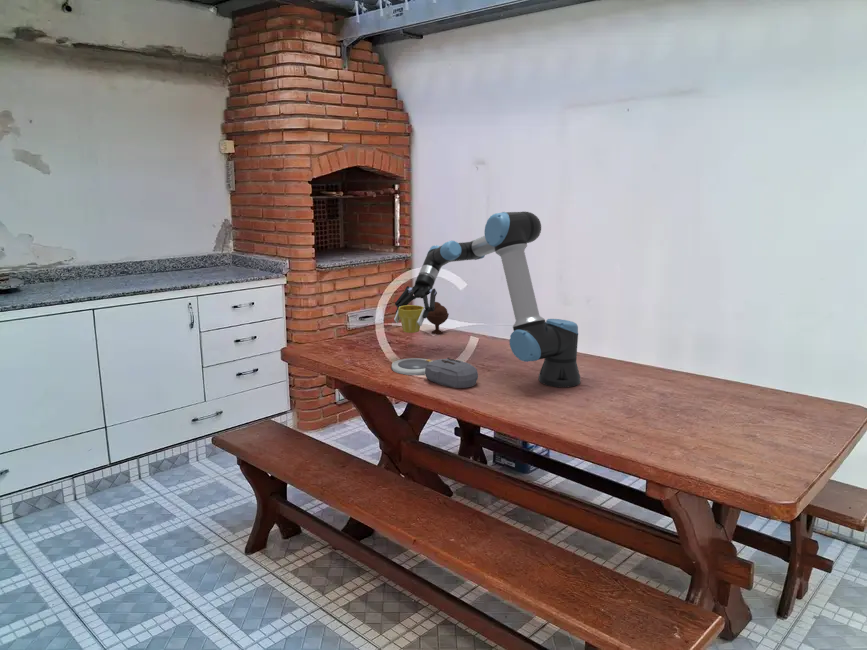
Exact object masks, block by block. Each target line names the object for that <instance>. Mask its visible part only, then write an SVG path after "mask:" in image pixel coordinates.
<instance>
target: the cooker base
mask: <svg viewBox="0 0 867 650" xmlns="http://www.w3.org/2000/svg"><path fill="white" fill-rule="evenodd" d="M432 361H433V360H432V359H428V358H423V357H421V358H419V357H412V358H411V357H409V358H402V359H398V360H394V361H393V362H392V363H391V370H392V371H393V372H394V373H397V374H400V375H406V376H421V375H425V368H426V366H427V364H428V363H430V362H432Z"/></svg>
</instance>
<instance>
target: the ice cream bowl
mask: <svg viewBox="0 0 867 650" xmlns="http://www.w3.org/2000/svg"><path fill="white" fill-rule="evenodd" d="M449 314H450V313H449V312H448V308H447V307H446V306H444V305H442V304H441V303H440V302H438V301H435V308H434V311H433V312H432V311H430V312H429V313H428V315H427V318H426V319H427V321H428V322H429V323H431V324H432V325H433V326H435V327H434V328H435V329H433V330H432V331H431V334H432V335H442V334H443V333H444V332H443V331H442V330H440V325H442V324H444V323H445V322H446V321H447V320H448V318H449Z"/></svg>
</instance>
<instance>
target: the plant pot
mask: <svg viewBox="0 0 867 650" xmlns="http://www.w3.org/2000/svg"><path fill="white" fill-rule="evenodd" d="M424 307H425V306H421V305H417V304H415V305H414V304H408V305H405V306H402V305H401V306H400V307H399V308H398V315H399V317H400V323H401V327H402V332H404V333H407V334H410V333H411V334H414V333H418V332H420V329H421V326H419V324H418V323H417V321H418V319H419V317H420V314H421V312H422V310H423V309H425V308H424Z"/></svg>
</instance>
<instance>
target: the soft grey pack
mask: <svg viewBox="0 0 867 650" xmlns="http://www.w3.org/2000/svg"><path fill="white" fill-rule="evenodd" d="M424 375H425V378H426V379H427V380H429V381H431V382H433V383H435V384H437V385H440V386H444V387H449V388H455V389H462V388H464V389H465V388H470V387H473V386H475V385H476V384H477V381H478V379H479V373H478V369H477V368H476V367H475V366H474V365H472V364H471V363H468V362H466V361H463V360H458V359H455V358H451V357H450V358H449V357H447V358H439V359H434V360H432V362H430V363H428V364H427V366H426V368H425V374H424Z"/></svg>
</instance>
